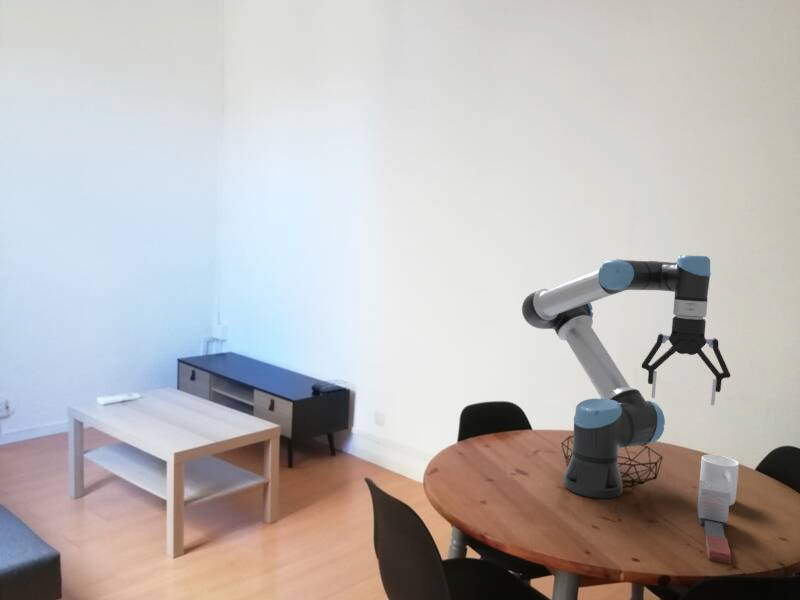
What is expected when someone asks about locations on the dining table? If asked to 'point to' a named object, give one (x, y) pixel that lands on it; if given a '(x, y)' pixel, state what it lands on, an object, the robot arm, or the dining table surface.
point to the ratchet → (716, 541)
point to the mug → (720, 472)
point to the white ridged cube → (713, 501)
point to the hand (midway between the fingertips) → (682, 400)
